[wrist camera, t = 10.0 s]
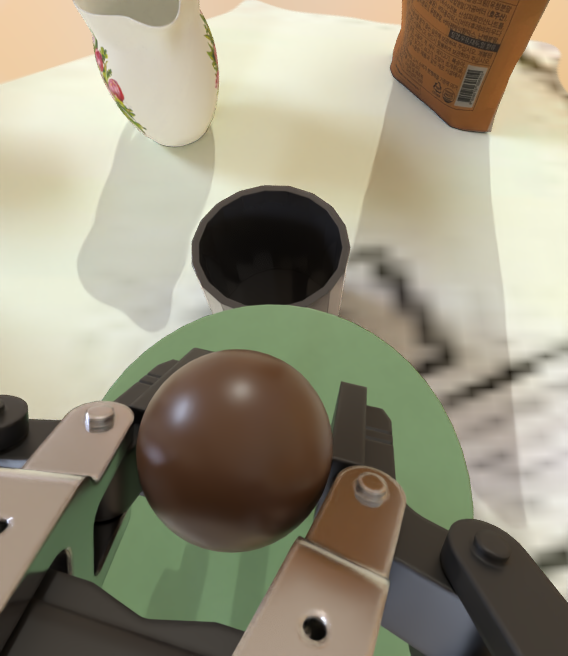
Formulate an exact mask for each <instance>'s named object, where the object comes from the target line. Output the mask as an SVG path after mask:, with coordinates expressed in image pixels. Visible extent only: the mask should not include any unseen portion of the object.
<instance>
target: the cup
mask: <svg viewBox="0 0 568 656" xmlns="http://www.w3.org/2000/svg"><path fill="white" fill-rule="evenodd" d="M349 253H350V244H349V239H348V234H347V229H346V226H345V224H344V223H343V221H342V220H341V218H340V217H339V215H338V214H337V213H336V211H335V210H334V208H333V207H332V206H330V205H329V204H328V203H326V202H325V201H323V200H322V199H320V198H319V197H317V196H316V195H315V194H313V193H310V192H307V191H304V190H300V189H297V188H294V187H291V186H271V185H264V186H259V187H255V188H250V189H246V190H242V191H239V192H237V193H235V194H233V195H231V196H230V197H228V198H226V199H224V200H222V201H221V202H219V203H218V204H216V205H215V206H214V207H213V208H212V209H211V210H210V212H209V213H208V214H207V215H206V216H205V217H204V218H203V219H202V220H201V221H200V224H199V226H198V228H197V231H196V233H195V235H194V238H193V240H192V267H193V269H194V272H195V274H196V276H197V279H198V281H199V283H200V286H201V288H202V290H203V293H204V295H205V298H206V300H207V302H208V305H209V307H210V309H211V312H212V314H215V313H218V312H221V311H225V310H230V309H235V308H240V307H245V306H255V305H291V306H298V307H305V308H311V309H315V310H318V311H322V312H326V313H330V314H333V315H335V316H338V317H339V311H340V305H341V300H342V294H343V288H344V282H345V276H346V271H347V265H348V259H349Z"/></svg>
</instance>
